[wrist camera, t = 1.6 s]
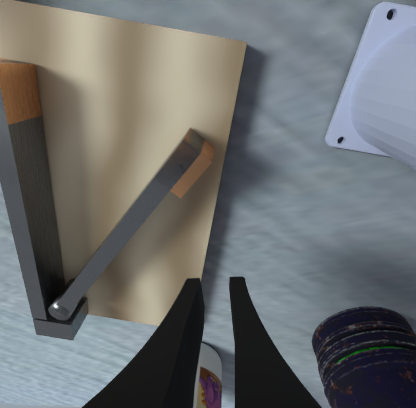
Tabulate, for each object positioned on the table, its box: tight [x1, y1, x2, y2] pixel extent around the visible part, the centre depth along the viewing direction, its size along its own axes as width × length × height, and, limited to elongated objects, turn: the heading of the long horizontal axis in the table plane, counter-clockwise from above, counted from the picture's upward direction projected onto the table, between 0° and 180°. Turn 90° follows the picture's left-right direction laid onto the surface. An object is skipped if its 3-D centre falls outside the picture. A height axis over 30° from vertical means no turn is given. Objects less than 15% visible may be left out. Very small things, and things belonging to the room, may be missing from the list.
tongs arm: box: [48, 127, 215, 320], centre depth 20 cm, size 2×19×3 cm, turn 141°
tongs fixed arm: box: [0, 58, 89, 340], centre depth 20 cm, size 4×21×3 cm, turn 171°
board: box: [0, 0, 247, 326], centre depth 21 cm, size 15×25×2 cm, turn 171°
